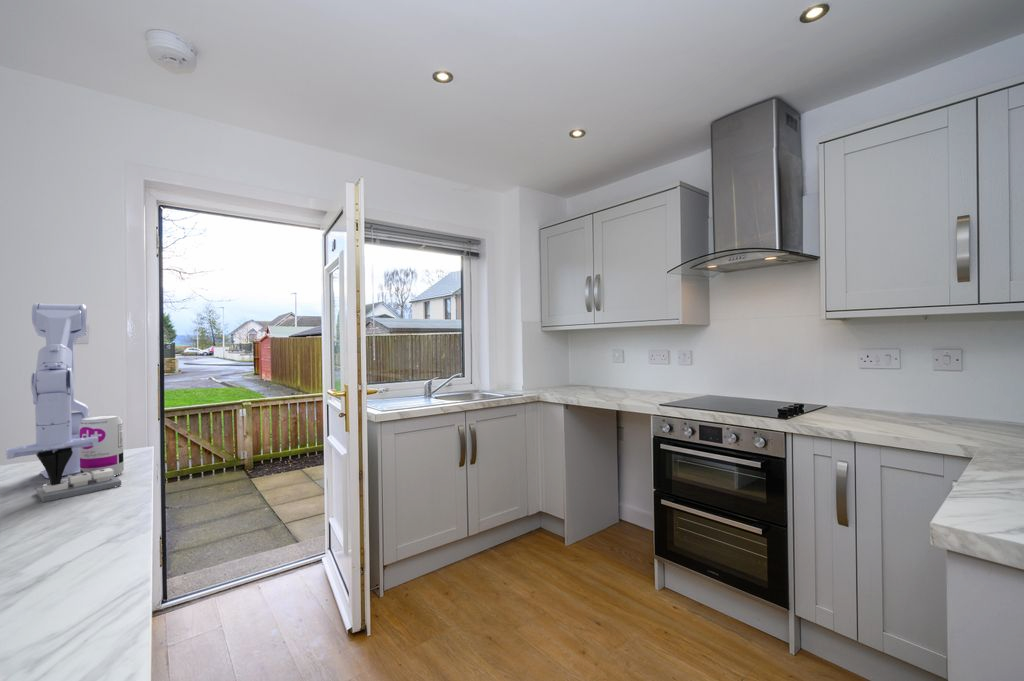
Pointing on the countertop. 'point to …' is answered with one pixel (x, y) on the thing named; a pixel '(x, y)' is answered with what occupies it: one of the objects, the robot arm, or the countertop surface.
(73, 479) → the tile two
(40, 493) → the keypad
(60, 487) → the tile three
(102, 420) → the supplement can
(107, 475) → the tile one
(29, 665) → the countertop surface
